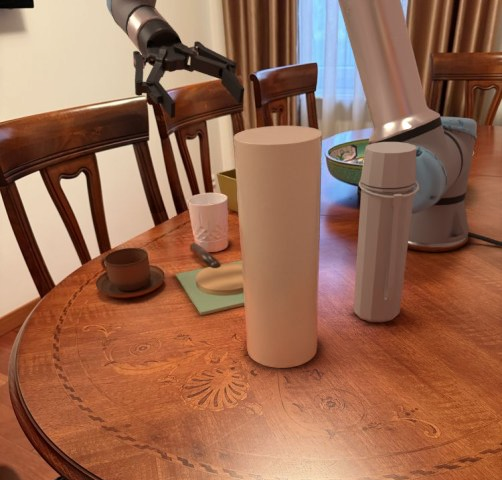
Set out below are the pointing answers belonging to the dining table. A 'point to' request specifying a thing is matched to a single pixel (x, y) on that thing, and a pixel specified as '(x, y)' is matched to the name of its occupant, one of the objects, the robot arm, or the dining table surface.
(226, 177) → the flower pot
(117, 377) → the dining table surface
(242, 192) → the canister
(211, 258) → the lid
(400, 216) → the water bottle
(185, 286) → the mat
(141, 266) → the cup and saucer
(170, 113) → the robot arm
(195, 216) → the white cup
